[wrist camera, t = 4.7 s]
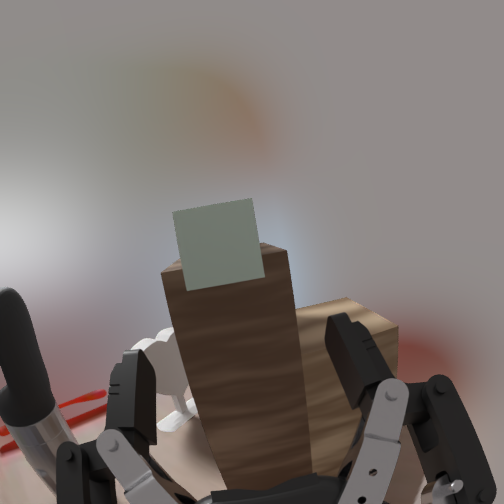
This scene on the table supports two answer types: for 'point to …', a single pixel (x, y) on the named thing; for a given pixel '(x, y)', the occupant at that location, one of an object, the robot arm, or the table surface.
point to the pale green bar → (218, 244)
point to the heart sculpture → (169, 376)
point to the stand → (267, 373)
